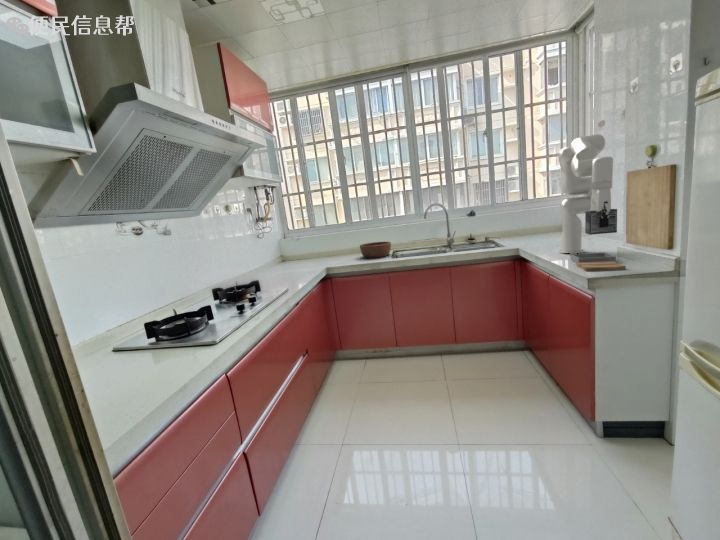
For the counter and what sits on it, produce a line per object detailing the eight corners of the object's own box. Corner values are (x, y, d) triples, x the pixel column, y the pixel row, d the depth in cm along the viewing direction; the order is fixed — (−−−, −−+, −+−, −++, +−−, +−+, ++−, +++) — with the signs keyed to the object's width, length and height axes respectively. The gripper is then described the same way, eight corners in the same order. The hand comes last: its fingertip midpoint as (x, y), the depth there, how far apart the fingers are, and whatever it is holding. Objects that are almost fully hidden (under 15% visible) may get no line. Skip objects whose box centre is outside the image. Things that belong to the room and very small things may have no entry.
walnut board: (576, 265, 161) (576, 262, 161) (612, 263, 157) (612, 260, 156) (586, 271, 149) (586, 268, 149) (625, 269, 144) (625, 266, 144)
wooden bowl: (367, 254, 281) (365, 242, 279) (395, 252, 272) (394, 240, 270) (356, 259, 258) (355, 247, 256) (386, 258, 249) (385, 244, 247)
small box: (610, 231, 151) (611, 208, 149) (617, 232, 145) (618, 208, 143) (584, 233, 154) (584, 210, 152) (589, 234, 148) (590, 211, 146)
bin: (570, 259, 175) (570, 254, 174) (604, 258, 170) (604, 252, 170) (578, 264, 163) (578, 258, 163) (615, 262, 158) (615, 256, 158)
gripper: (584, 187, 155) (584, 225, 159) (599, 186, 139) (598, 228, 142) (603, 185, 153) (602, 224, 156) (620, 184, 137) (619, 227, 140)
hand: (600, 226), depth 149 cm, fingers closed on small box, 6 cm apart
